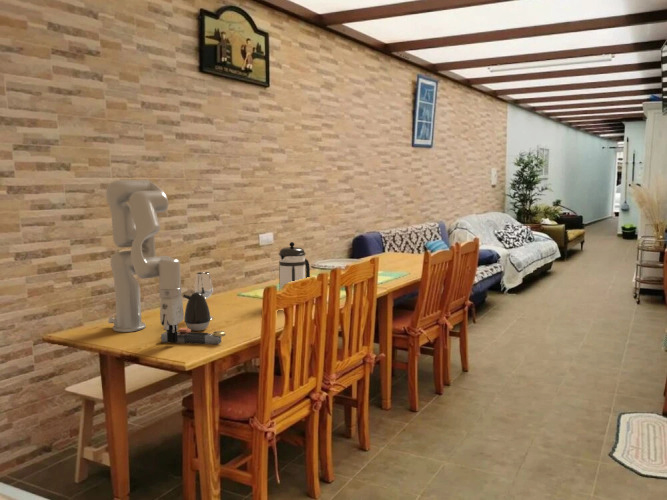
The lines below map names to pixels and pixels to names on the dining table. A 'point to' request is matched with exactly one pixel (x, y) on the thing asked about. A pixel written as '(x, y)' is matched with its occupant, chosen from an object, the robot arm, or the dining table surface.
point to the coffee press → (292, 265)
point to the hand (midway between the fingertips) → (172, 342)
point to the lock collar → (184, 330)
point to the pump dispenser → (196, 312)
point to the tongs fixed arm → (216, 333)
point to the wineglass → (204, 285)
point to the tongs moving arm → (194, 338)
